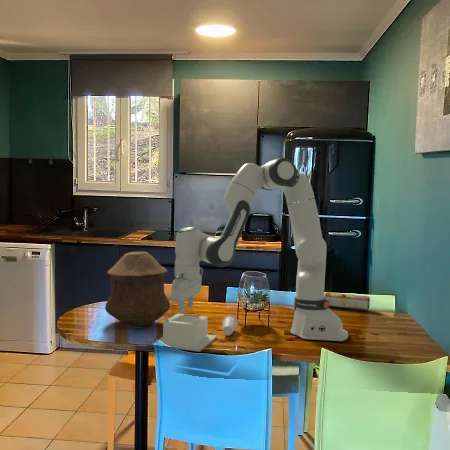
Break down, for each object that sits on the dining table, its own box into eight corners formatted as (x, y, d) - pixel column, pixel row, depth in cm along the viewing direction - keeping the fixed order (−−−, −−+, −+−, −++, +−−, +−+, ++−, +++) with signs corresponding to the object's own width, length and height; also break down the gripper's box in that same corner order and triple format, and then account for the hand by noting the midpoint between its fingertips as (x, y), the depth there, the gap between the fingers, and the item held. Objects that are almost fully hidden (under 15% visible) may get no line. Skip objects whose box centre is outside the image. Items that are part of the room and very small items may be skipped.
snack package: (368, 311, 245) (369, 307, 251) (369, 298, 243) (370, 294, 250) (323, 307, 251) (325, 303, 258) (323, 294, 250) (325, 290, 257)
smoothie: (216, 325, 197) (221, 314, 211) (223, 341, 198) (227, 329, 211) (232, 320, 196) (236, 309, 210) (238, 335, 197) (241, 324, 210)
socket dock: (216, 337, 197) (217, 314, 196) (199, 351, 180) (200, 326, 179) (173, 332, 202) (173, 310, 202) (152, 345, 185) (152, 321, 185)
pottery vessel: (178, 332, 203) (180, 255, 201) (112, 338, 192) (113, 257, 190) (159, 316, 226) (160, 247, 224) (99, 321, 216) (100, 249, 214)
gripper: (183, 277, 178) (182, 317, 179) (204, 268, 198) (203, 304, 199) (166, 275, 180) (165, 315, 181) (189, 267, 200) (188, 303, 201)
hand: (185, 309), depth 190 cm, fingers open, 6 cm apart
